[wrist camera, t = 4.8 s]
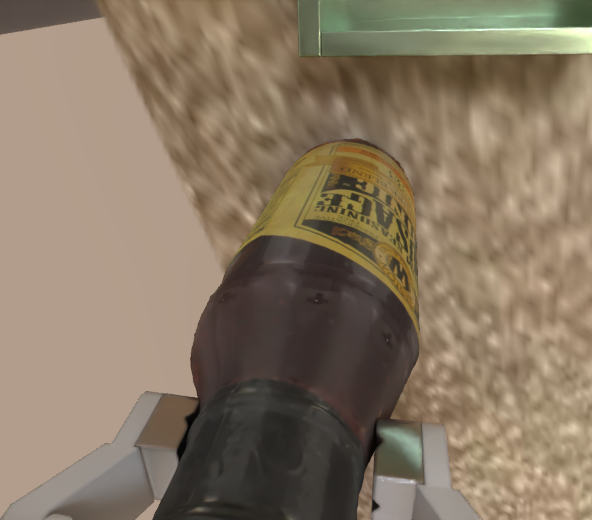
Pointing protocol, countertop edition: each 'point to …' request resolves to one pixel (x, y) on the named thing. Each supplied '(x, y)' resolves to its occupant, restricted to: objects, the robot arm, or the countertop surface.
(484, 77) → the countertop surface
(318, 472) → the sauce bottle
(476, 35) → the green shallow open box
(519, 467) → the countertop surface
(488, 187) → the countertop surface
